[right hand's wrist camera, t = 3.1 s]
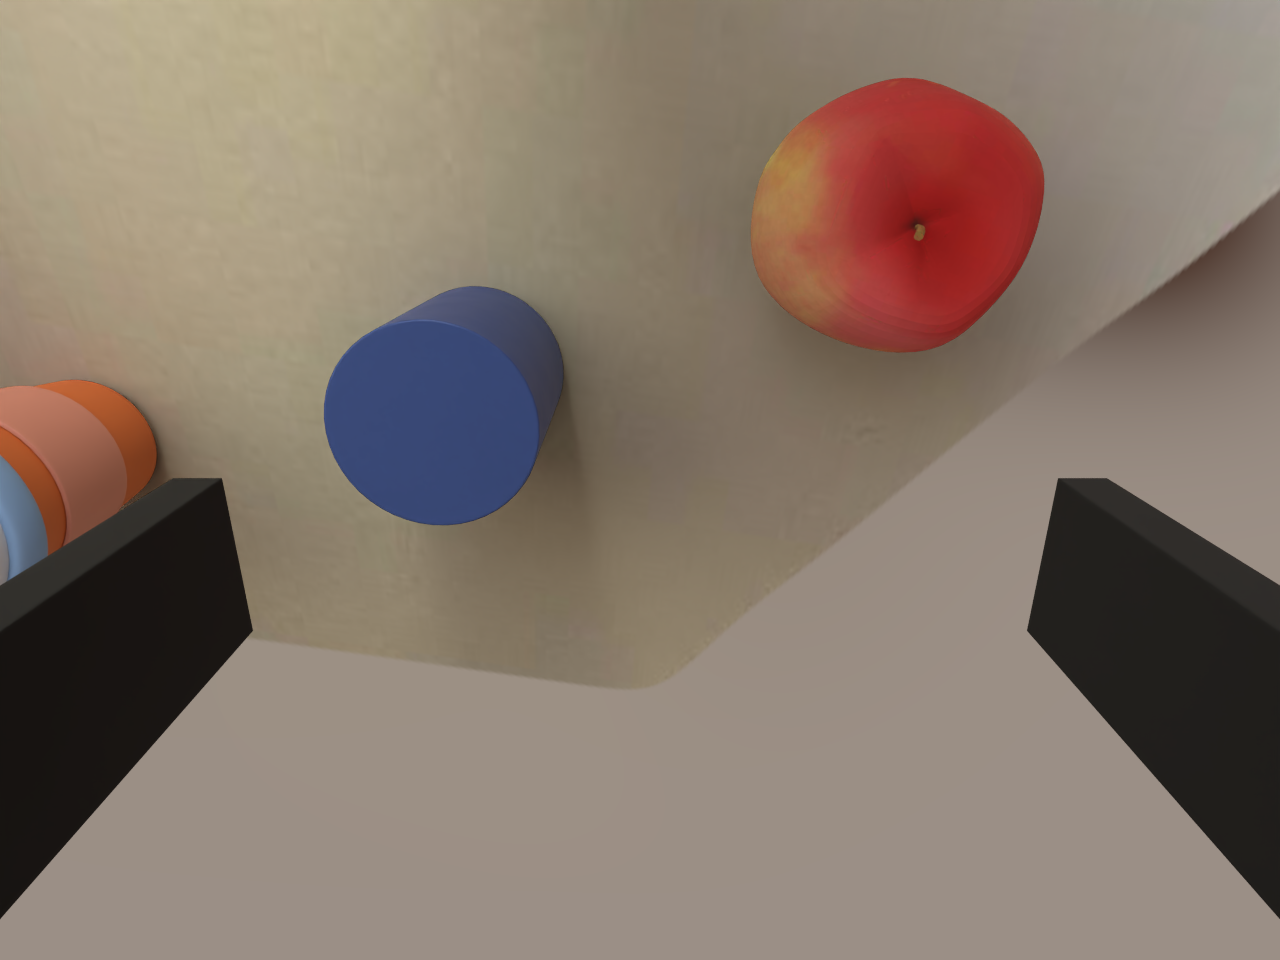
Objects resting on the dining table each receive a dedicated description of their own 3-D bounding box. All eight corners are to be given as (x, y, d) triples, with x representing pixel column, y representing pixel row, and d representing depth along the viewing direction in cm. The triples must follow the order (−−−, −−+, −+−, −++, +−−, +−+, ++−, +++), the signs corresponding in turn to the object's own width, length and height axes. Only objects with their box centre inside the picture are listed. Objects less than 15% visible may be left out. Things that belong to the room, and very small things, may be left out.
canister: (559, 454, 38) (535, 533, 29) (400, 441, 37) (329, 517, 29) (567, 293, 35) (543, 329, 26) (396, 278, 35) (315, 310, 26)
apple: (881, 40, 31) (984, -21, 22) (1003, 230, 34) (1141, 248, 24) (694, 203, 33) (714, 211, 24) (822, 370, 36) (885, 435, 27)
